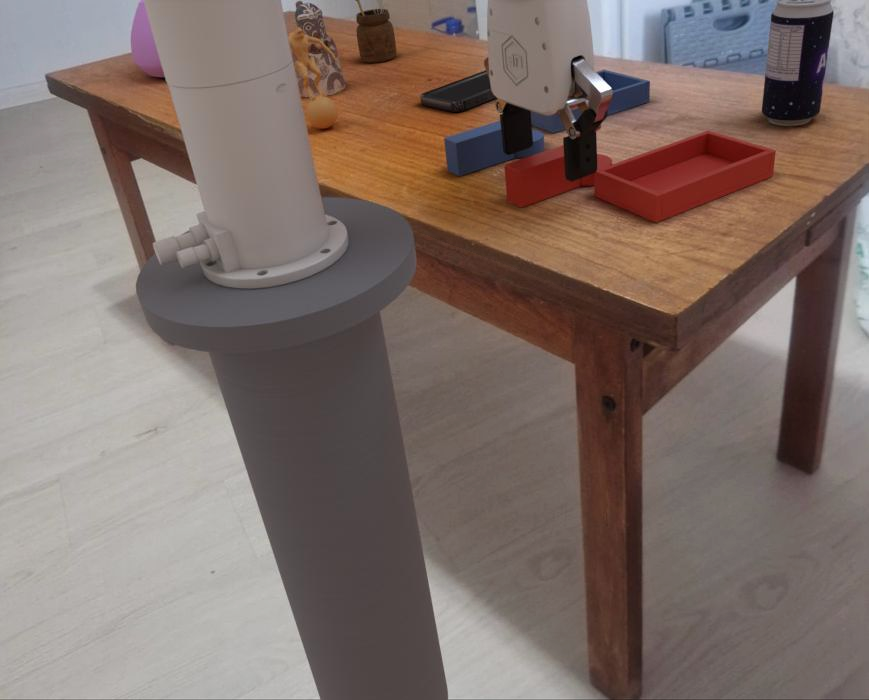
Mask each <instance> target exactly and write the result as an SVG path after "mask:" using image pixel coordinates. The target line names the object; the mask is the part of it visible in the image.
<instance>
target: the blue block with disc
mask: <svg viewBox="0 0 869 700" xmlns="http://www.w3.org/2000/svg"><path fill="white" fill-rule="evenodd" d="M532 136H533V145H532V147H530V148H528V149H525V150H522V151H519V152H516V153H514V154H511V155H507V154H505V153H504V152H503V143H502V133H501V123H500V120H497V121H494V122H490V123H488V124H484V125H482V126H478V127H474V128H472V129H468V130H465V131H462V132H458V133H455V134H452V135H449V136H445V137H443V141H444V149H445V159H446V169H447V171H448V172H450V173H451V174H453V175H455V176H457V177H459V178H460V177H464V176H465V175H469V174H471V173H475V172H477V171H481V170H483V169H486V168H490V167H492V166H493V167H494V166H495V165H498V164H502V163H504V162H508V161H511V160H513V159H515V158H516V159H517V158H518V159H523V158H526V157H529V156H532V155H535V154H538V153H541V152H544V150H545V134H544V132H542V130H541V131H540V130H538V129H532Z"/></svg>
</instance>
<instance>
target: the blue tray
mask: <svg viewBox="0 0 869 700" xmlns="http://www.w3.org/2000/svg"><path fill="white" fill-rule="evenodd" d="M596 72H597V73H598V74H599V76H600V77H601V78H602V79H603V80H604V81H605V82H606V83H607V84H608V85H609V86H610V87H611V88H612V91H613V96H612V99H611V101H610V104H609V107H608V110H607V117H608V116H611V115H614V114H617V113H620V112H623V111H626V110H630V109H632V108H635V107H638V106H641V105H644V104H649V103H650V101H651V100H650V97H651V96H650V94H651V93H650V92H651V81H650V80H648V79H644V78H640V77H636V76H632V75H628V74H623V73H620V72H616V71H613V70H612V71H611V70H609V69H602V70H598V71H596ZM567 100H568V99H567ZM571 111H572V113H573V115H574V117H575V119H576V121H577V120H578V118H579V117H580V116H581V112H580V110H579V108H577V109H574V110H571ZM531 123H532V127H535V128H538V129H541V130H543V131H546V132H548V133H552V134H555V133H559V132H562V131H566V129H565V127H564V125H563V123H562V121H561V119H560V117H559V115H558V113H557V112H556V113H555V114H553V115H542V114H539V113H536V112H533V111H531Z"/></svg>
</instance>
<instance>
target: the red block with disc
mask: <svg viewBox="0 0 869 700" xmlns="http://www.w3.org/2000/svg"><path fill="white" fill-rule="evenodd" d="M612 164H613V159H612V158H611V157H610V156H608V155H606V154H600V153H597V170H598V169H601V168H604V167H607V166H609V165H612ZM503 167H504V168H503V169H504V181H505V193H506V201H507V202H509V203H511V204H513V205H515V206H517V207H519V208H524V207H527V206H530V205H533V204H536V203H538V202H541V201H544V200H547V199H549V198H552V197H555V196H558V195H561V194H564V193H566V192H569V191H571V190H574V189H577V188H580V187H581V186H582V187H584V186H585V187H590V186H592V187H593V186H594V173H593V174H591V175H588V176H585V177H583V178H580V179H578V180H575V181H572V182H571V181H568V180H567V179H566V177H565V164H564V146H563V145H559V146H557V147H553V148H550V149H548V150H547V149H546V150H545V151H543V152H541V153H538V154H535V155H532V156H529V157H525V158H519V159H517V160H515V161H512V162H507V163H506V164H504V166H503Z"/></svg>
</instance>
